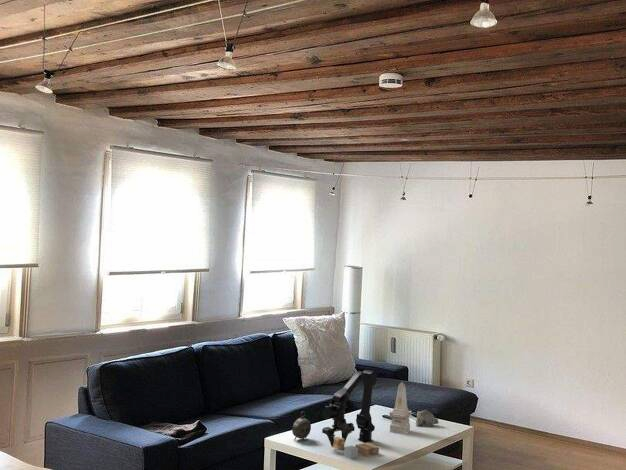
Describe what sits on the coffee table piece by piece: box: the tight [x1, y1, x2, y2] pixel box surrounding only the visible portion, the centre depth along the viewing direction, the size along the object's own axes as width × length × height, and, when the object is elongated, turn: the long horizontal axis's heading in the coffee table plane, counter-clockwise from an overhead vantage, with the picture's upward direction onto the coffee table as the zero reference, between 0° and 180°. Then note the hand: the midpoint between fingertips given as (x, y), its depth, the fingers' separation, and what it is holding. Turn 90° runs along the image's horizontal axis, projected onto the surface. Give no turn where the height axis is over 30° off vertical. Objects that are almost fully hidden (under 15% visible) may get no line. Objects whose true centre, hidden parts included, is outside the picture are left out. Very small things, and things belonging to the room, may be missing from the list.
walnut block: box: [354, 442, 380, 457], centre depth 362 cm, size 9×9×4 cm
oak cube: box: [330, 436, 345, 450], centre depth 370 cm, size 5×5×5 cm
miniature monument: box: [389, 381, 412, 435], centre depth 406 cm, size 10×10×30 cm
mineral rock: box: [415, 409, 440, 427], centre depth 421 cm, size 13×11×10 cm
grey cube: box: [343, 445, 359, 460], centre depth 354 cm, size 5×5×5 cm
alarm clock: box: [291, 410, 312, 442], centre depth 380 cm, size 11×5×16 cm, turn 131°
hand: (337, 444), depth 370 cm, fingers open, 8 cm apart
